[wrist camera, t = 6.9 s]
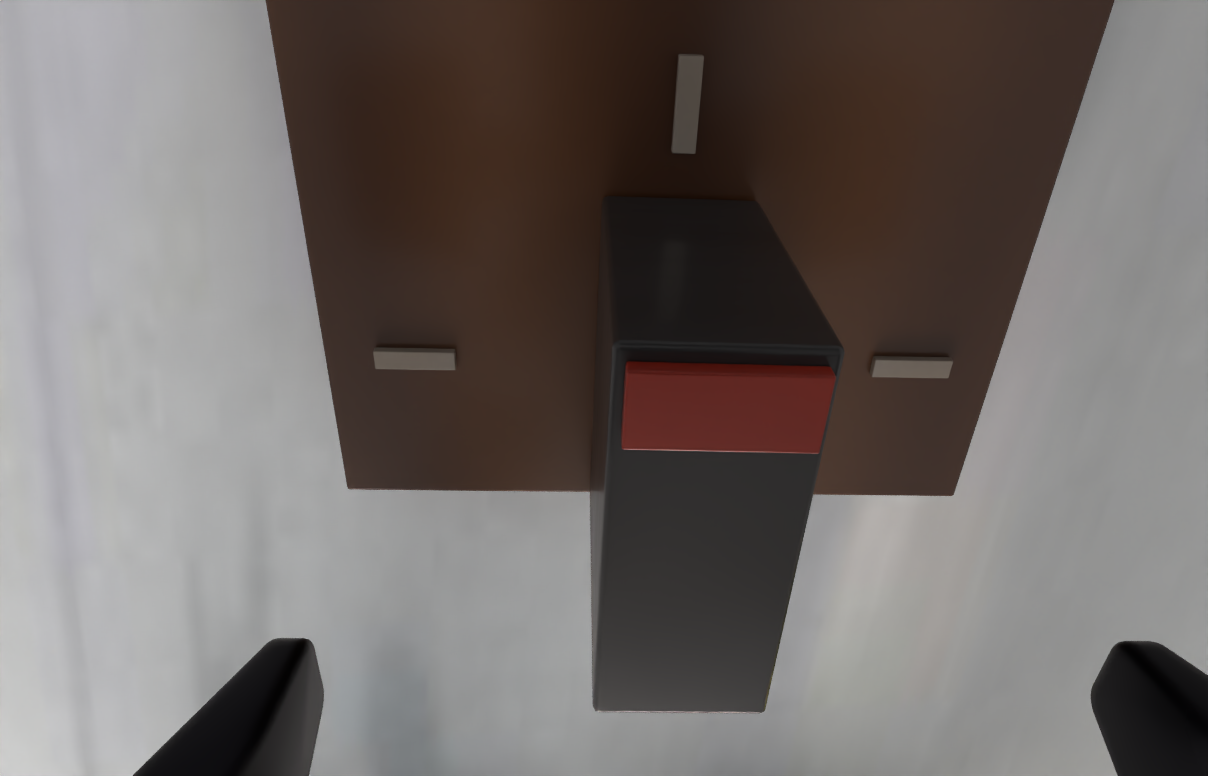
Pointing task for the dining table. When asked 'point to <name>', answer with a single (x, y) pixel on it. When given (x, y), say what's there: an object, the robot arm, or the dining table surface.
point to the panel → (664, 170)
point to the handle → (700, 452)
